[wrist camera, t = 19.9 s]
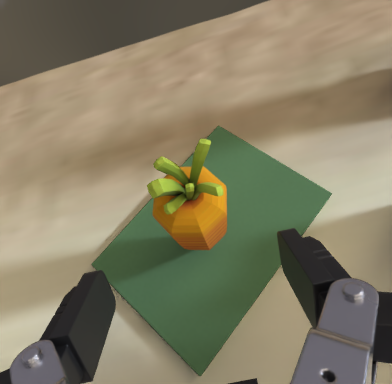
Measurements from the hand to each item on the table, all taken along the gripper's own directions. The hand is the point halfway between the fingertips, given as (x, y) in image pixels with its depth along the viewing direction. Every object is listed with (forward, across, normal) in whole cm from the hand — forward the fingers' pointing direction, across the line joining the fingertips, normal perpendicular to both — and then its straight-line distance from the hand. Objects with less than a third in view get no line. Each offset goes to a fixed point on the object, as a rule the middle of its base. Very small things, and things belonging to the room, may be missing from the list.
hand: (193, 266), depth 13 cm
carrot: (+13, 0, -6) cm, 14 cm away
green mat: (+14, +1, -6) cm, 15 cm away
